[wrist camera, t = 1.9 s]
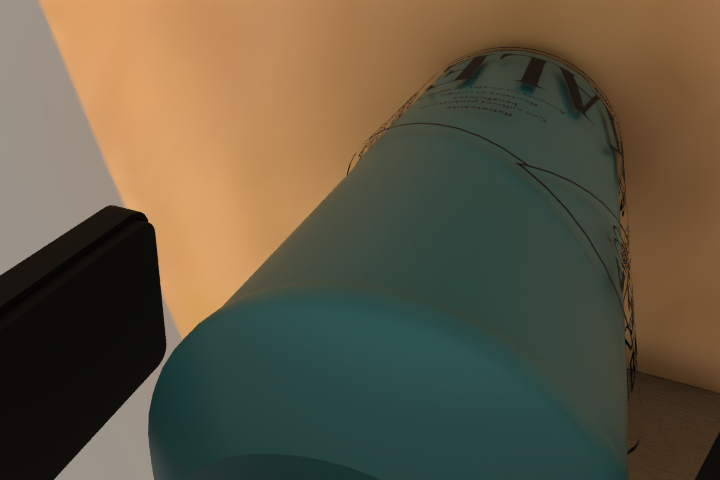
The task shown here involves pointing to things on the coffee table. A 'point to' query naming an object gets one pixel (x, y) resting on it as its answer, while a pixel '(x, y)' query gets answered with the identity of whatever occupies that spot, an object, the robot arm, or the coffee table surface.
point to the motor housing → (669, 428)
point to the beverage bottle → (430, 306)
